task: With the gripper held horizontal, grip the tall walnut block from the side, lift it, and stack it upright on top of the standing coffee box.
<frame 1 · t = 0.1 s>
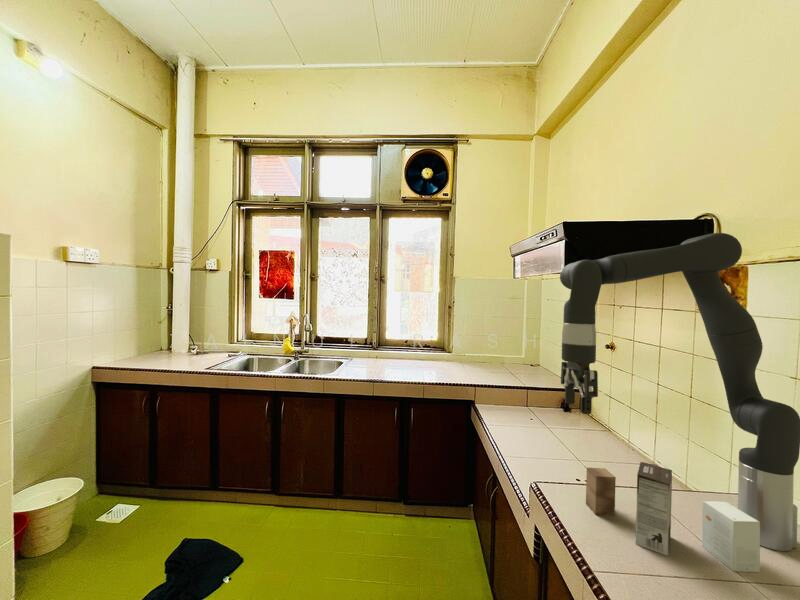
hand: (577, 408, 87), 29 cm above the countertop, tool pointing down, fingers open, 8 cm apart
small box: (729, 560, 78), on the countertop
walnut block: (599, 509, 95), on the countertop
coffee box: (653, 541, 83), on the countertop
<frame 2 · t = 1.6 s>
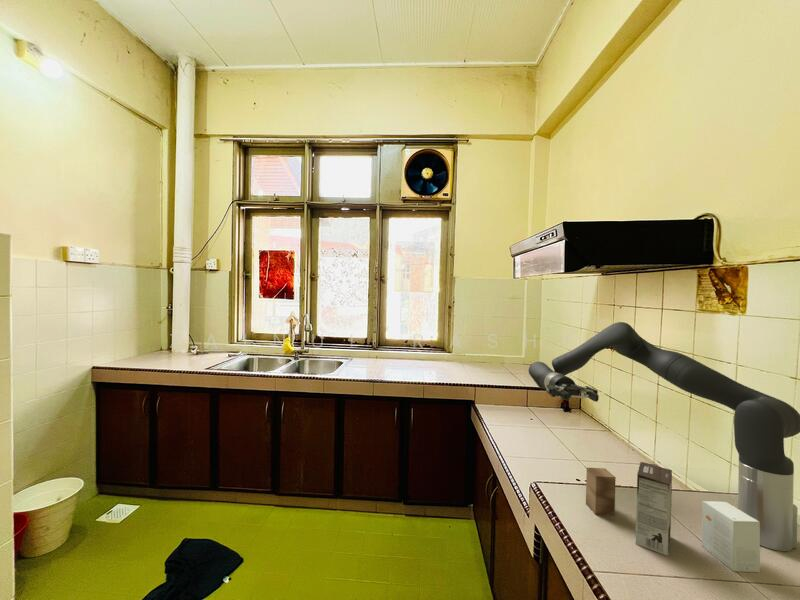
hand: (582, 397, 106), 27 cm above the countertop, tool horizontal, fingers open, 8 cm apart
nothing on the countertop moved.
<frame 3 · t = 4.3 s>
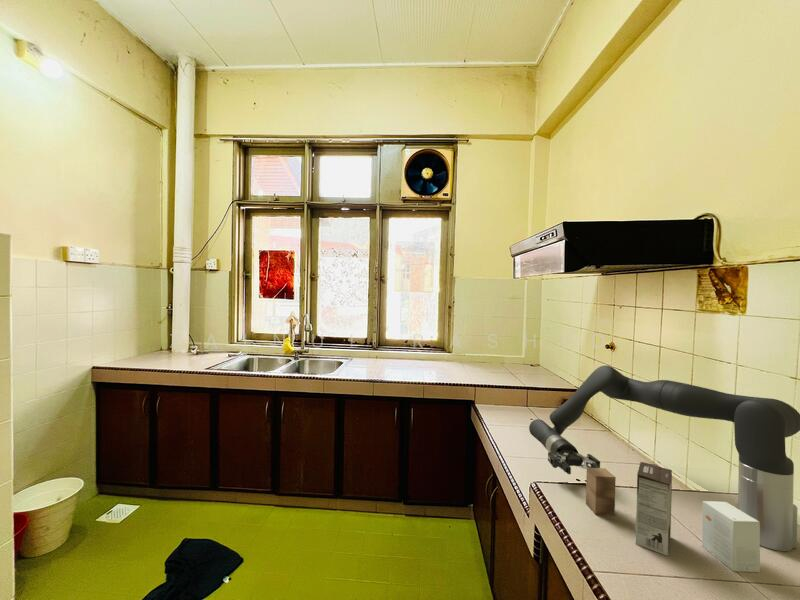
hand: (584, 471, 104), 6 cm above the countertop, tool horizontal, fingers open, 8 cm apart
nothing on the countertop moved.
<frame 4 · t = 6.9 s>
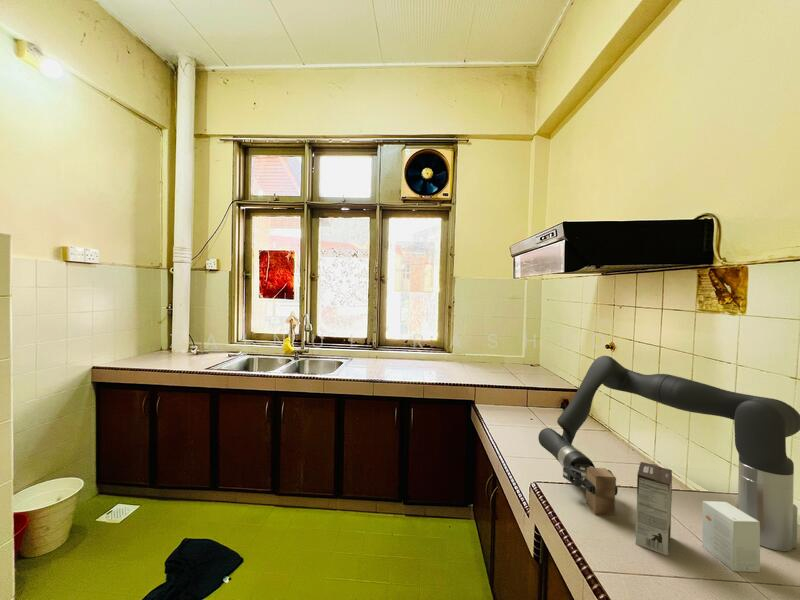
hand: (604, 491, 93), 6 cm above the countertop, tool horizontal, fingers closed on walnut block, 5 cm apart
walnut block: (599, 509, 95), on the countertop, touching gripper
everything else where it was.
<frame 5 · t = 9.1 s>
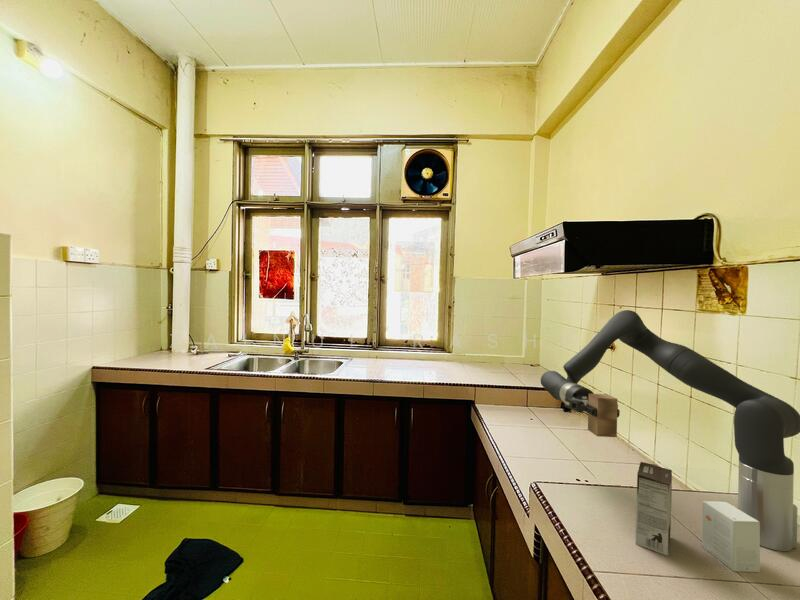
hand: (606, 413, 94), 26 cm above the countertop, tool horizontal, fingers closed on walnut block, 5 cm apart
walnut block: (601, 433, 96), point 20 cm above the countertop, touching gripper
everything else where it was.
when the fingers open (23 cm above the countertop, at t = 11.6 s): walnut block drops 1 cm, resting on coffee box.
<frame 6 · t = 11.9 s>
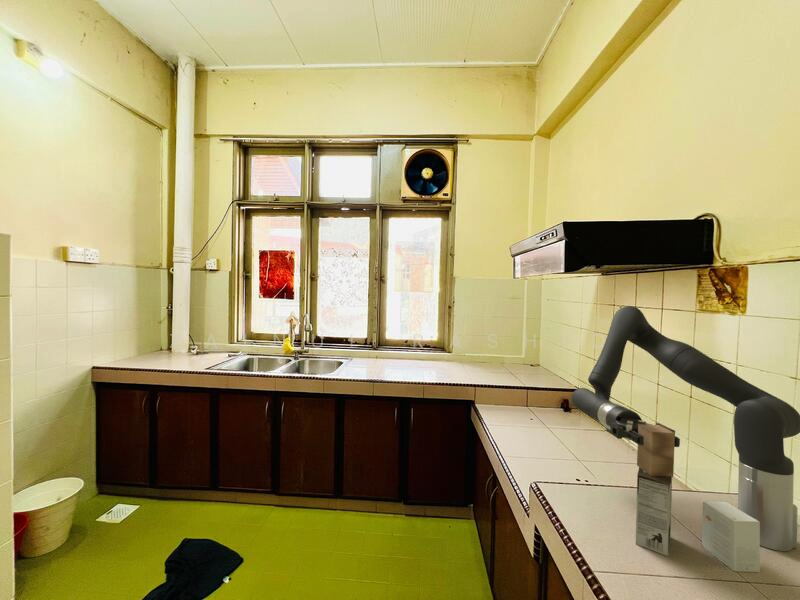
hand: (660, 442, 82), 24 cm above the countertop, tool horizontal, fingers open, 7 cm apart
walnut block: (654, 471, 83), point 16 cm above the countertop, touching coffee box
coffee box: (653, 541, 83), on the countertop, touching walnut block
everything else where it was.
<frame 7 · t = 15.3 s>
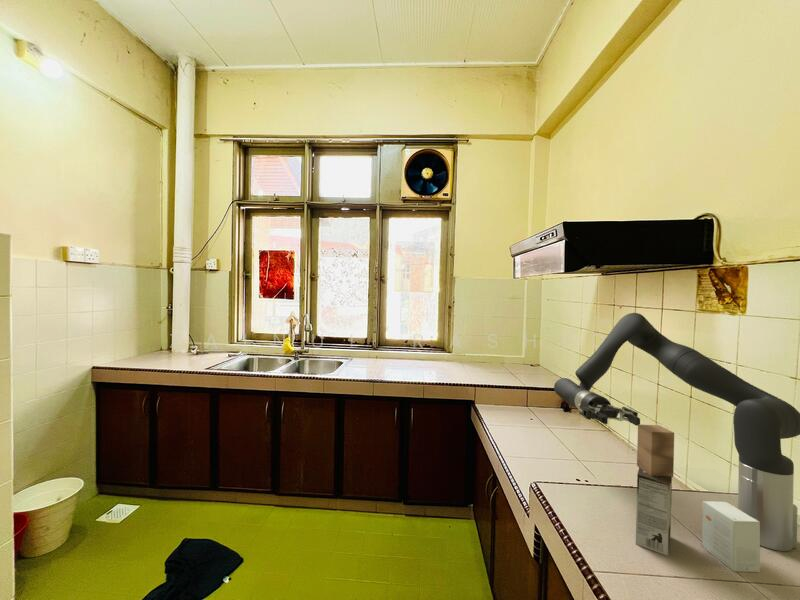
hand: (622, 421, 96), 24 cm above the countertop, tool horizontal, fingers open, 8 cm apart
nothing on the countertop moved.
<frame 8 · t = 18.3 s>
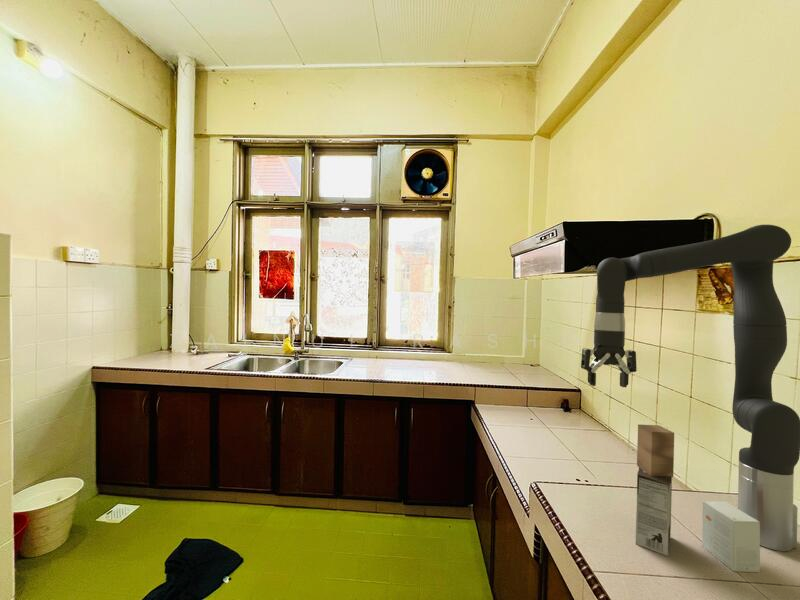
hand: (607, 386, 101), 32 cm above the countertop, tool pointing down, fingers open, 8 cm apart
nothing on the countertop moved.
at the end: walnut block inside the target area (0.5 cm from its centre), point 16.1 cm above the countertop; walnut block tilted 0°; coffee box tilted 0° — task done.
